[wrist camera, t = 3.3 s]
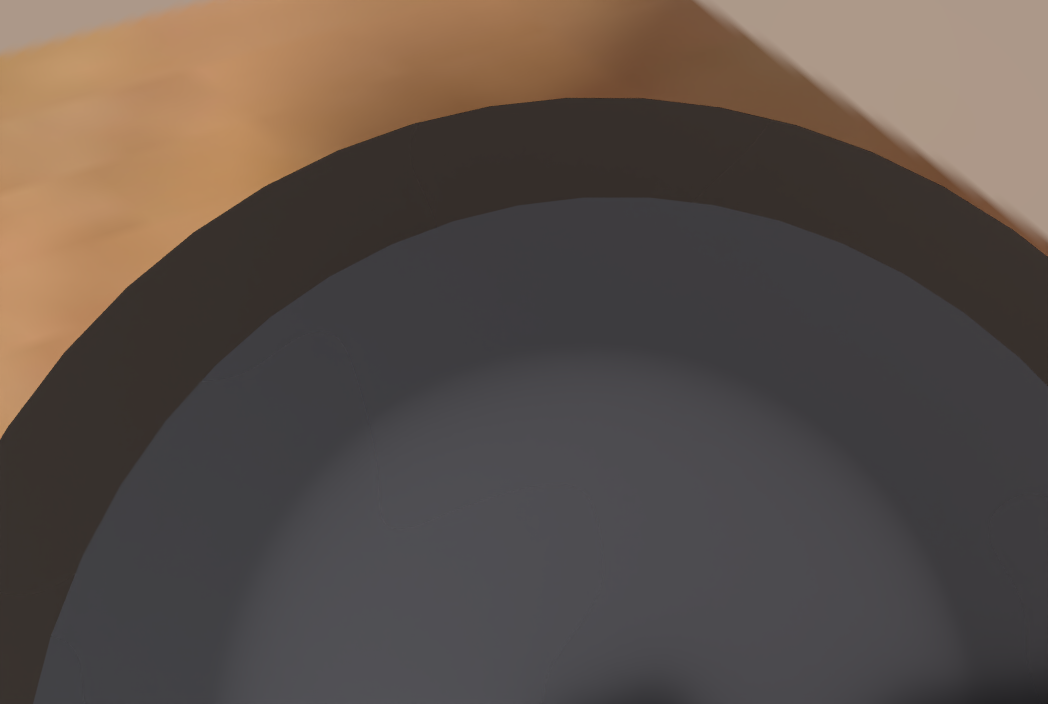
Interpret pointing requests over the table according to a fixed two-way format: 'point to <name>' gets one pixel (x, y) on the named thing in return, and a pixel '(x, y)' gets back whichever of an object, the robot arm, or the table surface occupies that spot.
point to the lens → (549, 434)
